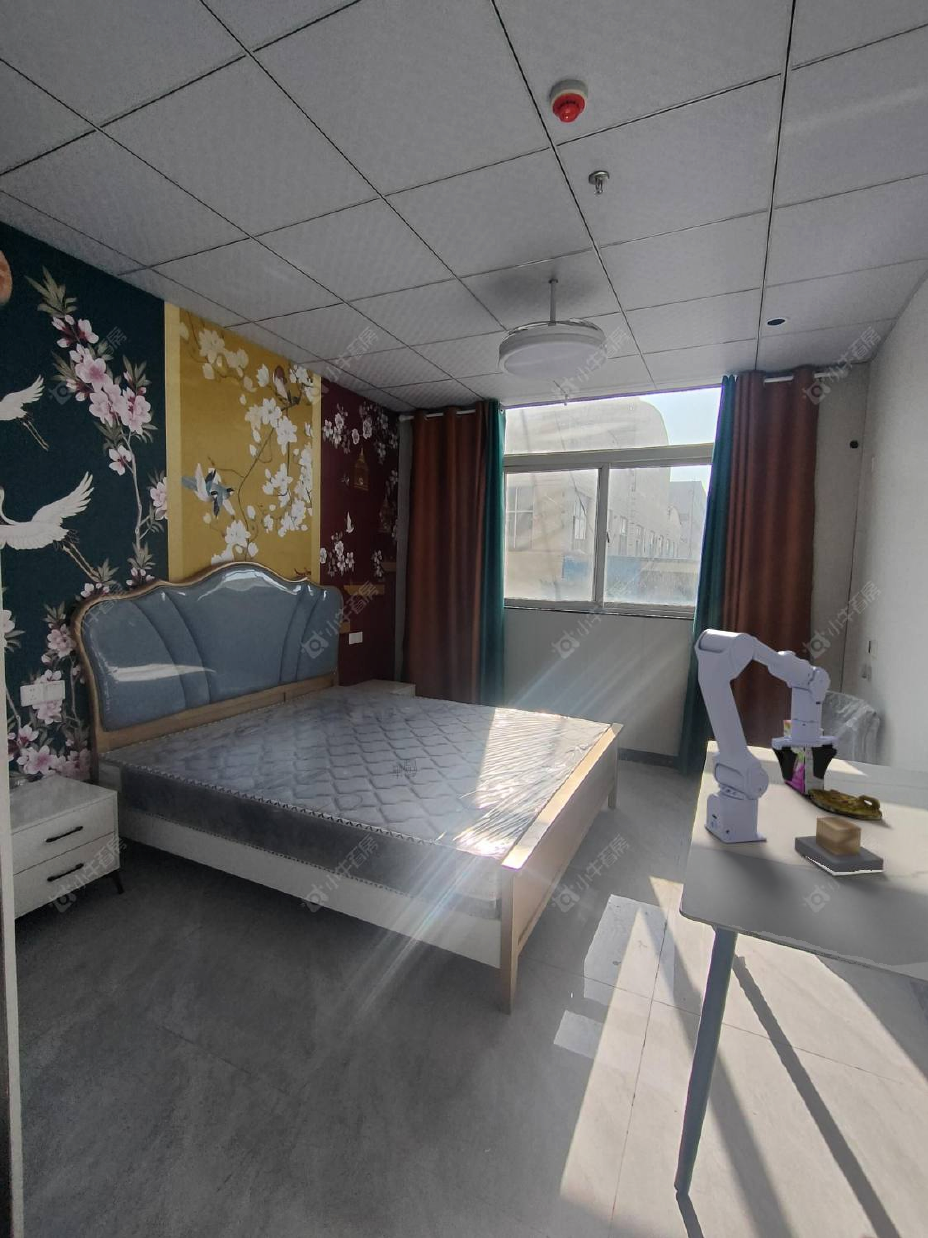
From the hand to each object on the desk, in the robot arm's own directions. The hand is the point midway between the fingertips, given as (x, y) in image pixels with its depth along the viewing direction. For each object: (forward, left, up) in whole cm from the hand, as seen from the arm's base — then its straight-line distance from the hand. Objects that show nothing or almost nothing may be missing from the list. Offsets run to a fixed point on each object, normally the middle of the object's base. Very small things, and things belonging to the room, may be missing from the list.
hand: (802, 778), depth 124 cm
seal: (+14, +3, -9) cm, 17 cm away
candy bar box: (+12, +15, -9) cm, 21 cm away
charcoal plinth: (-6, -17, -9) cm, 20 cm away
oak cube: (-6, -17, -7) cm, 19 cm away
